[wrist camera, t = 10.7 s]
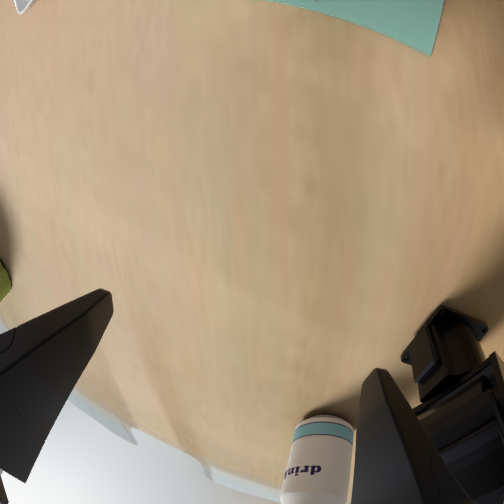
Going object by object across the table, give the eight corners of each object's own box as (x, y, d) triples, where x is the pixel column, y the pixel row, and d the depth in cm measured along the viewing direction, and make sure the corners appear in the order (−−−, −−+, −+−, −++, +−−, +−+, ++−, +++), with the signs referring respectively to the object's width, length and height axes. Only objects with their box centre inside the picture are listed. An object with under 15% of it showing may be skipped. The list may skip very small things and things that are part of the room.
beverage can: (331, 402, 28) (316, 504, 17) (364, 426, 29) (357, 516, 18) (285, 420, 31) (261, 508, 21) (320, 441, 32) (304, 521, 22)
